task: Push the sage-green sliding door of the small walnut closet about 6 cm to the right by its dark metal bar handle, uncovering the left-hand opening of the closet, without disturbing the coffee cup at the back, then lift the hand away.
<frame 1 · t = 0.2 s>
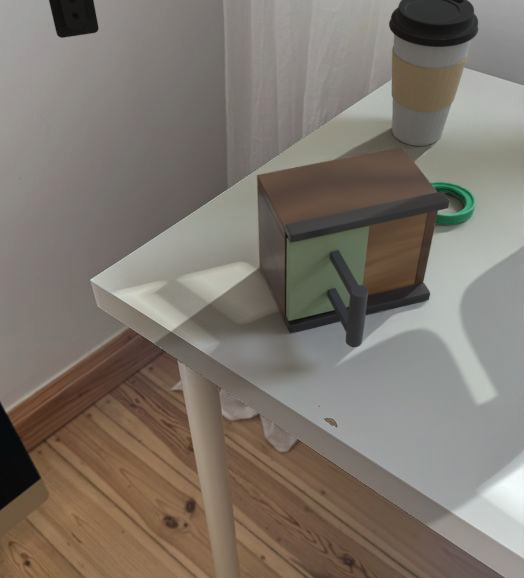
hand: (70, 7, 59), 23 cm above the table, tool pointing down, fingers open, 9 cm apart
coffee cup: (415, 134, 88), on the table
closet: (339, 278, 72), on the table
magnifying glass: (401, 207, 79), on the table
door: (338, 296, 62), point 6 cm above the table, slide at 0.0 cm
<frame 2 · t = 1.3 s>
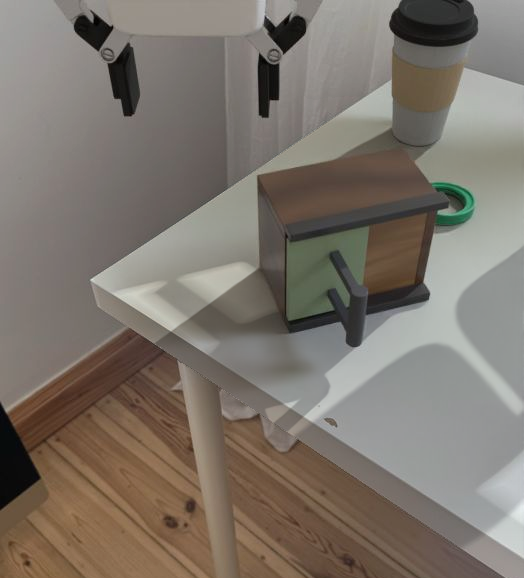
hand: (198, 107, 53), 21 cm above the table, tool pointing down, fingers open, 9 cm apart
nothing on the table moved.
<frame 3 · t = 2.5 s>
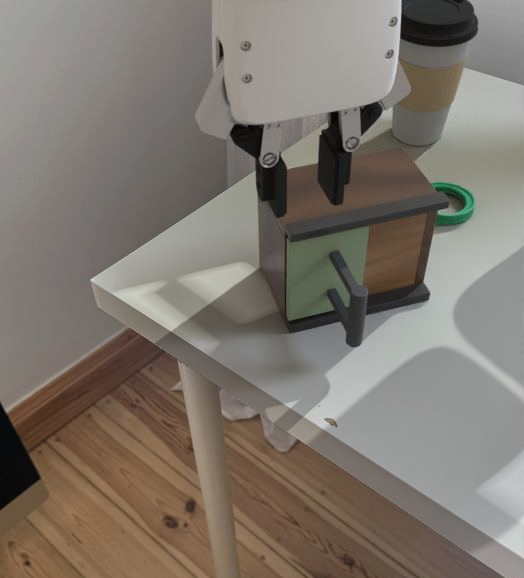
hand: (302, 197, 49), 19 cm above the table, tool pointing down, fingers open, 3 cm apart
nothing on the table moved.
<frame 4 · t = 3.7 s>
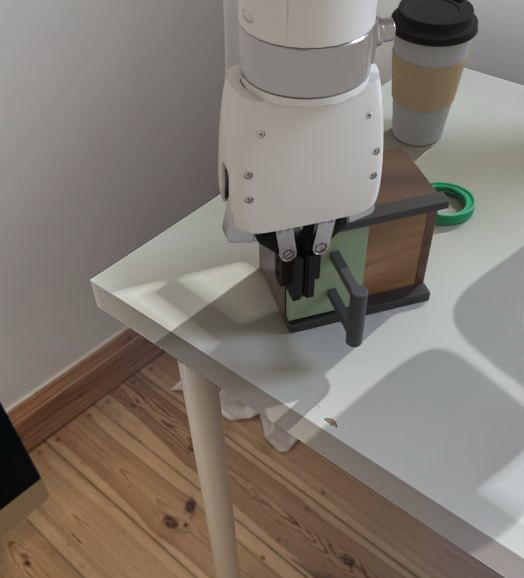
hand: (296, 286, 55), 11 cm above the table, tool pointing down, fingers closed
nothing on the table moved.
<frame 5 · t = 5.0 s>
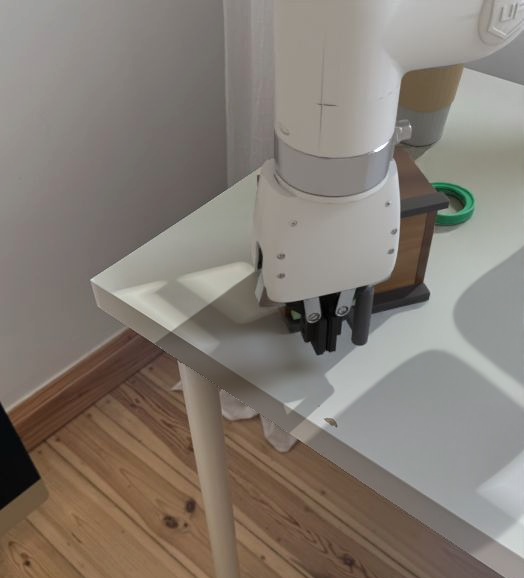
hand: (319, 341, 61), 4 cm above the table, tool pointing down, fingers closed
door: (344, 295, 62), point 6 cm above the table, slide at 0.5 cm, touching gripper
everything else where it was.
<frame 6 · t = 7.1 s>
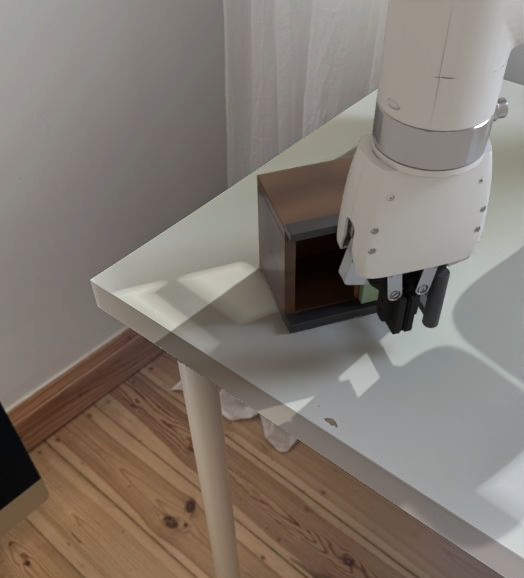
hand: (394, 320, 62), 4 cm above the table, tool pointing down, fingers closed
door: (415, 278, 63), point 6 cm above the table, slide at 7.1 cm, touching gripper
everything else where it was.
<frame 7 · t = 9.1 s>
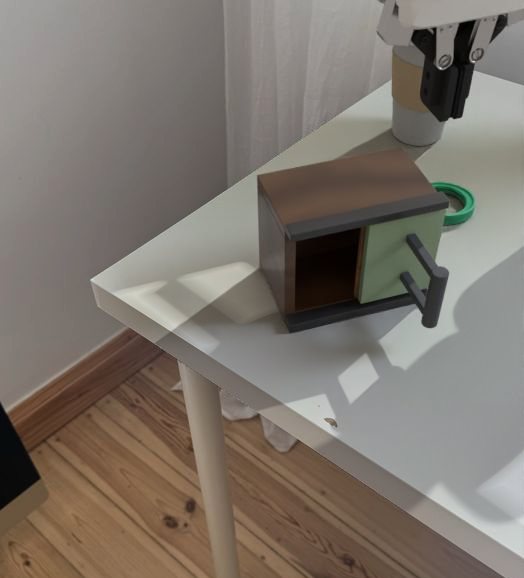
hand: (441, 109, 52), 21 cm above the table, tool pointing down, fingers closed
door: (415, 278, 63), point 6 cm above the table, slide at 7.0 cm
everything else where it was.
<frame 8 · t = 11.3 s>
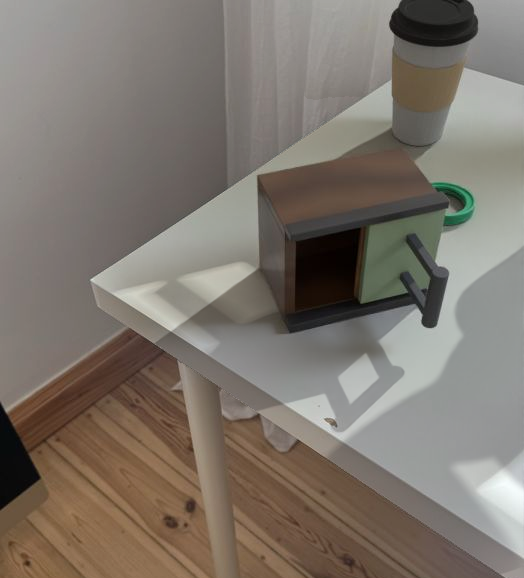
nothing on the table moved.
at the end: door slide at 7.0 cm; the gripper is holding nothing; coffee cup moved 0.2 cm from its start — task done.
